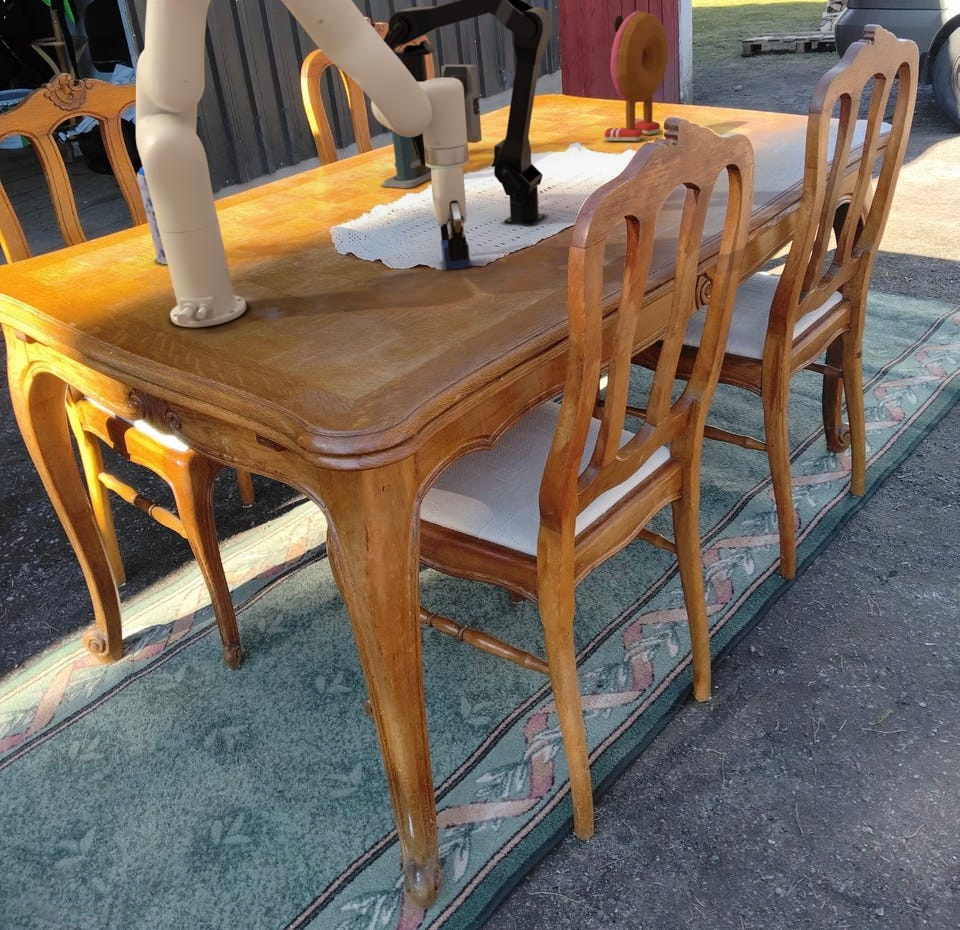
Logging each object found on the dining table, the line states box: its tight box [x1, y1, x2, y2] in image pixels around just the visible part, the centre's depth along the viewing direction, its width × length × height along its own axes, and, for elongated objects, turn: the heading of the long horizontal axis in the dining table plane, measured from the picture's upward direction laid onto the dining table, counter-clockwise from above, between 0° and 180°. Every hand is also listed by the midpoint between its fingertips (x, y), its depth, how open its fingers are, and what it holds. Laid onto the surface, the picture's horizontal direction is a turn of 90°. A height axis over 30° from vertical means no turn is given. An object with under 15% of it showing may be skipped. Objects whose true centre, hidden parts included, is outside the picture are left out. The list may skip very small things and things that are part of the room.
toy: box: [604, 10, 669, 142], centre depth 247 cm, size 21×10×30 cm, turn 141°
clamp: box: [382, 64, 483, 189], centre depth 235 cm, size 35×9×21 cm, turn 151°
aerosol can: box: [136, 166, 168, 265], centre depth 188 cm, size 8×8×20 cm
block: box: [440, 240, 471, 271], centre depth 176 cm, size 4×4×4 cm
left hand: (454, 251), depth 176 cm, fingers open, 9 cm apart
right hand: (421, 159), depth 199 cm, fingers open, 9 cm apart
